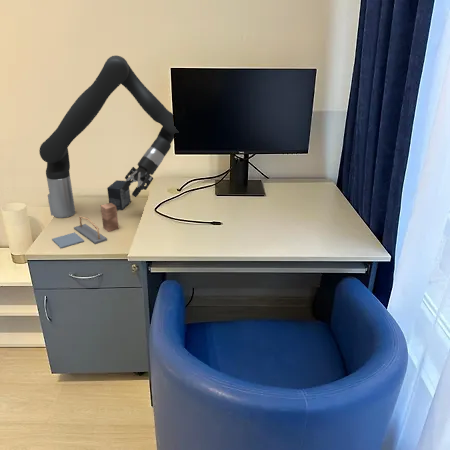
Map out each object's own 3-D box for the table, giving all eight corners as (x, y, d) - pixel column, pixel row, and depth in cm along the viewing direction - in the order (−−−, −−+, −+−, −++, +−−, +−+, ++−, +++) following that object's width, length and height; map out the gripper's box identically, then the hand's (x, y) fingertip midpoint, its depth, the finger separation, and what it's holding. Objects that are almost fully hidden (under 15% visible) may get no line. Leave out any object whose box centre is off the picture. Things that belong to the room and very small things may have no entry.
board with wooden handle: (95, 245, 162) (93, 227, 159) (74, 229, 174) (71, 213, 171) (107, 241, 165) (105, 223, 162) (85, 226, 177) (83, 209, 174)
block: (108, 231, 172) (105, 208, 167) (103, 228, 175) (100, 205, 171) (118, 228, 174) (116, 206, 170) (113, 225, 177) (111, 202, 173)
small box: (118, 200, 202) (115, 179, 198) (131, 201, 201) (129, 180, 197) (108, 209, 193) (106, 187, 188) (122, 210, 192) (120, 188, 187)
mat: (60, 248, 159) (60, 247, 158) (52, 239, 165) (51, 238, 165) (84, 241, 164) (84, 240, 164) (74, 233, 170) (74, 232, 170)
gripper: (136, 151, 179) (113, 183, 177) (154, 159, 169) (130, 193, 167) (148, 161, 184) (126, 192, 182) (166, 169, 174) (143, 202, 172)
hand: (128, 192), depth 174 cm, fingers open, 8 cm apart
